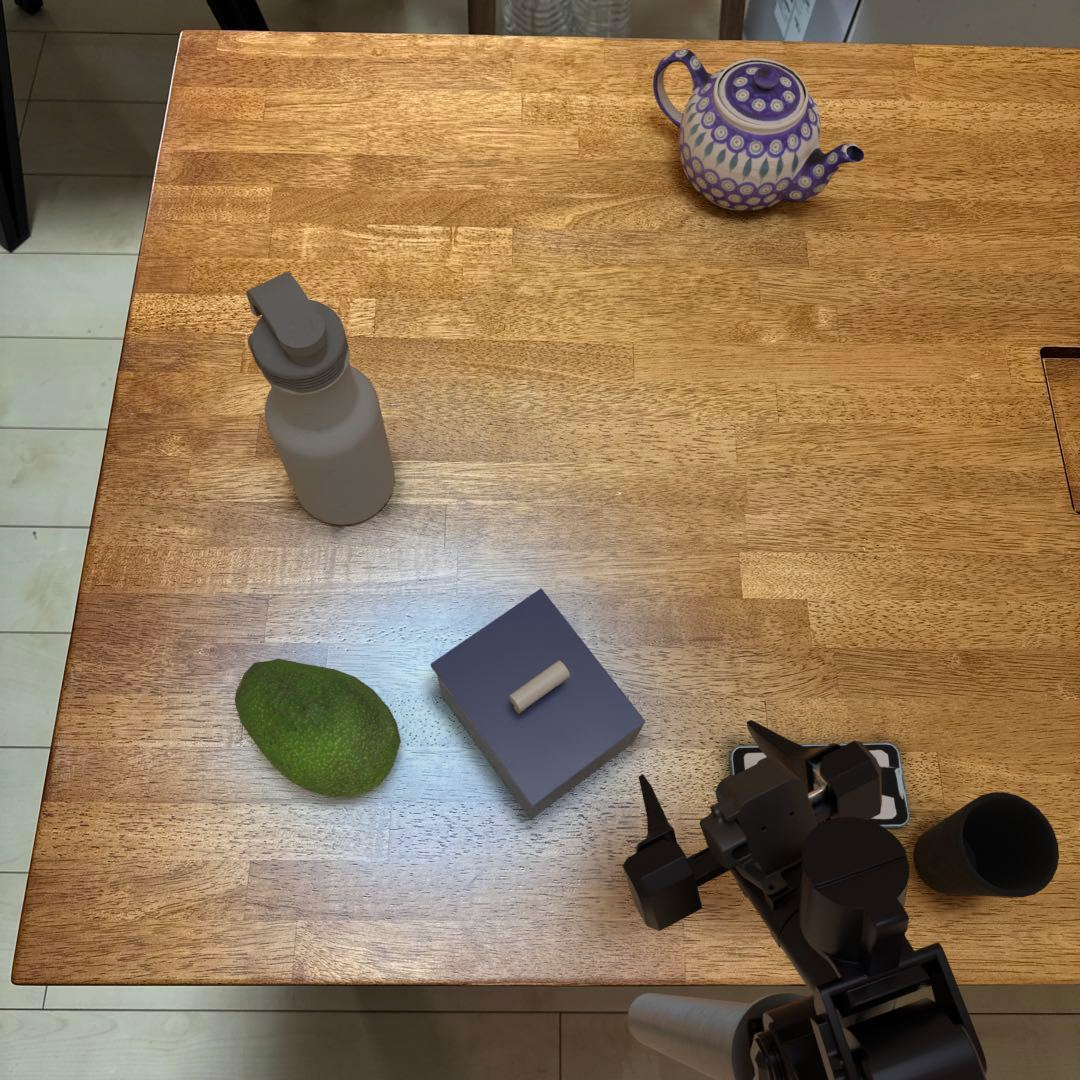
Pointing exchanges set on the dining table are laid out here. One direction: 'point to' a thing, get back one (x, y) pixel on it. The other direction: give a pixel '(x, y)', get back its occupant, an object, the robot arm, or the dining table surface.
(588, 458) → the dining table surface
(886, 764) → the smartphone
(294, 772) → the fruit
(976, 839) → the cup
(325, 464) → the water bottle
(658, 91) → the teapot
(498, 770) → the box
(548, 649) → the lid
